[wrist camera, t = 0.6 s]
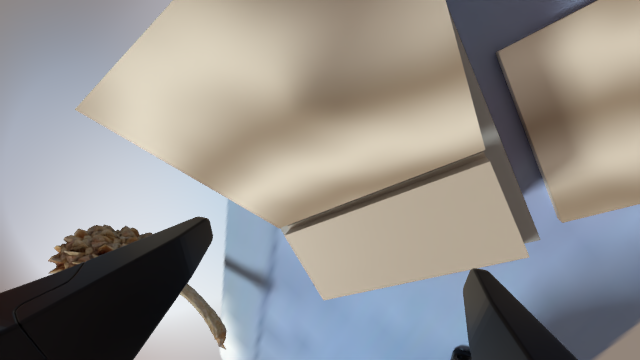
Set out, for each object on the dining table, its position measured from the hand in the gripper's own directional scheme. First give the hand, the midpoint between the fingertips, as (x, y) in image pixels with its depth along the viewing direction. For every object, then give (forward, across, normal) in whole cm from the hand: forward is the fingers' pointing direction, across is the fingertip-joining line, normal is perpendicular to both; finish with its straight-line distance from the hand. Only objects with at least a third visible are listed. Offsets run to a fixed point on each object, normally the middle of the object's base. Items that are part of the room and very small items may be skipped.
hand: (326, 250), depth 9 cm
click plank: (+6, +3, -3) cm, 7 cm away
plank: (+14, -14, -2) cm, 20 cm away
